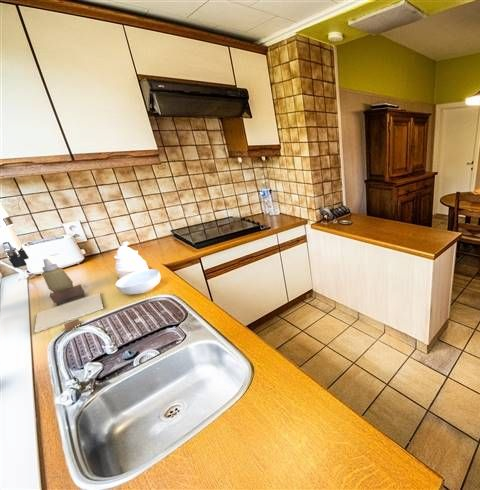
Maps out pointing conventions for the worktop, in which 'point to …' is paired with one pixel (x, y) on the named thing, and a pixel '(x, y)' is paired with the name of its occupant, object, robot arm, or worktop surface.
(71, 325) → the cork block
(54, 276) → the squeeze bottle
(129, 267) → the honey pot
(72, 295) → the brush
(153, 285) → the cereal bowl
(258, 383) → the worktop surface
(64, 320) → the board
